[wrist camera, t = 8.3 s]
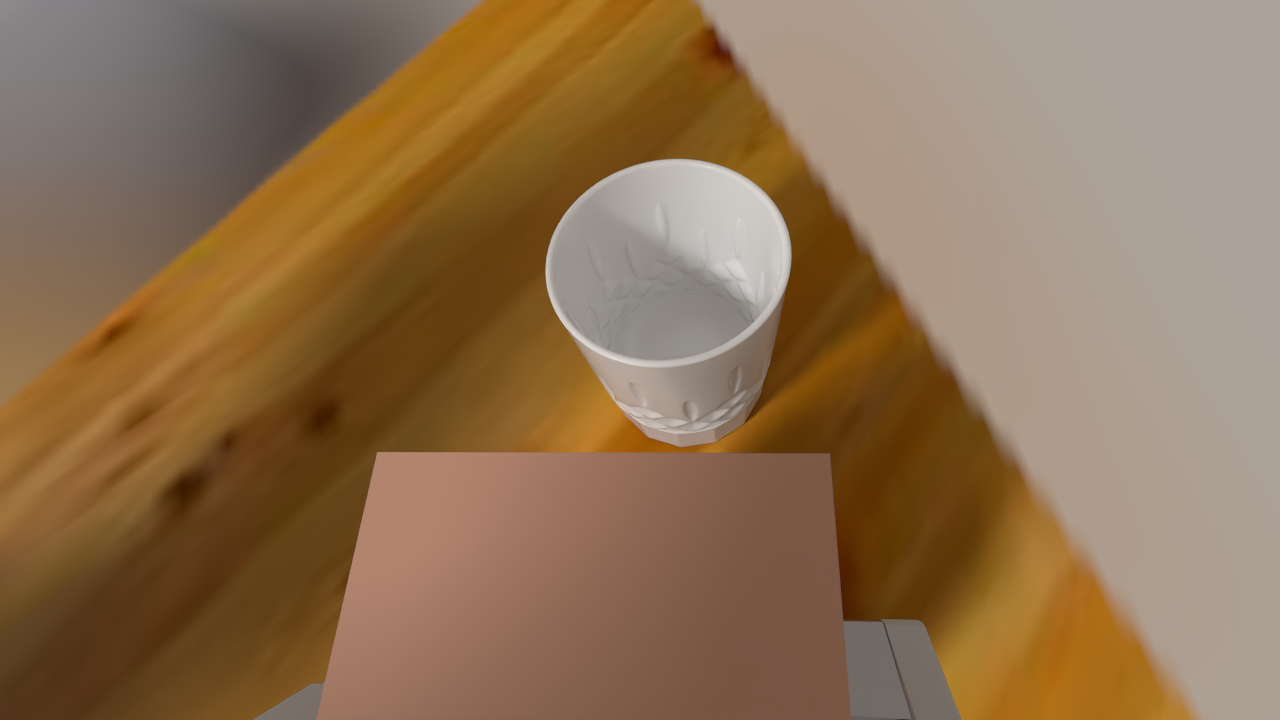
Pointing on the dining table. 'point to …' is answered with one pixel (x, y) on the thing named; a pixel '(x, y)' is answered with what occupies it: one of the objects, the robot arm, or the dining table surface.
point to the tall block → (593, 590)
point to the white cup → (674, 293)
